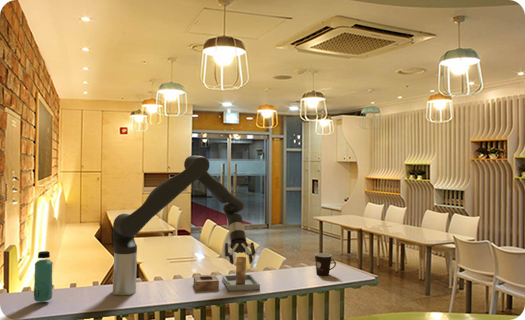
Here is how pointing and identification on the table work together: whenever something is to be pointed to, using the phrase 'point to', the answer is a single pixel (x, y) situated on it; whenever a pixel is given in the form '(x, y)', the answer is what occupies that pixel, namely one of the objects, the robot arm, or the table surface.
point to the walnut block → (206, 282)
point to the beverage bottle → (43, 278)
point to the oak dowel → (240, 270)
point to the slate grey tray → (231, 285)
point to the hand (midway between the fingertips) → (241, 263)
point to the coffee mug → (323, 264)
